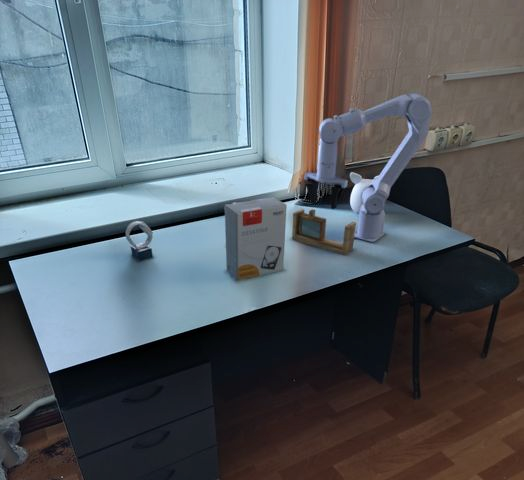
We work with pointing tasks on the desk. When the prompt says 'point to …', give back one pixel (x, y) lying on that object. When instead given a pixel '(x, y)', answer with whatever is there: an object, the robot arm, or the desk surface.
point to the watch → (141, 249)
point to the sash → (311, 226)
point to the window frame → (326, 243)
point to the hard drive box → (255, 237)
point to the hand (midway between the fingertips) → (323, 205)
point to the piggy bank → (358, 191)
